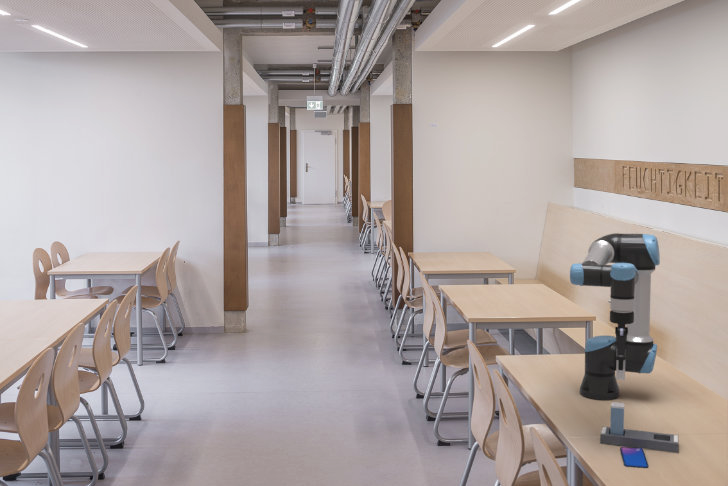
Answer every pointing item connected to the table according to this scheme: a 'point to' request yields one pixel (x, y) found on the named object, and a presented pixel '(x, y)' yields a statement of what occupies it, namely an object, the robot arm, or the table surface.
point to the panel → (641, 440)
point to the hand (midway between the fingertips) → (620, 373)
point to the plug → (617, 419)
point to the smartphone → (633, 457)
